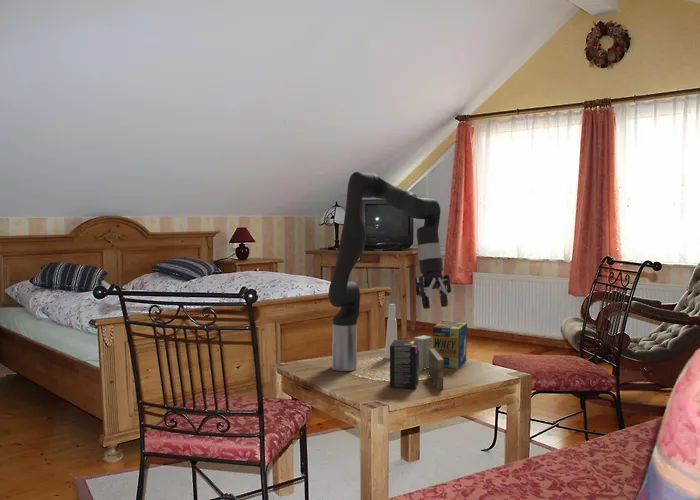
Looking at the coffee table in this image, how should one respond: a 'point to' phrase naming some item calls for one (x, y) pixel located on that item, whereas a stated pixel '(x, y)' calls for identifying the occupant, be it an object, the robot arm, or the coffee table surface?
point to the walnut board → (436, 368)
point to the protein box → (450, 342)
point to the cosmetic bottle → (391, 330)
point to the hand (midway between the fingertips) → (435, 307)
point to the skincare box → (424, 350)
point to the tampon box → (404, 364)
